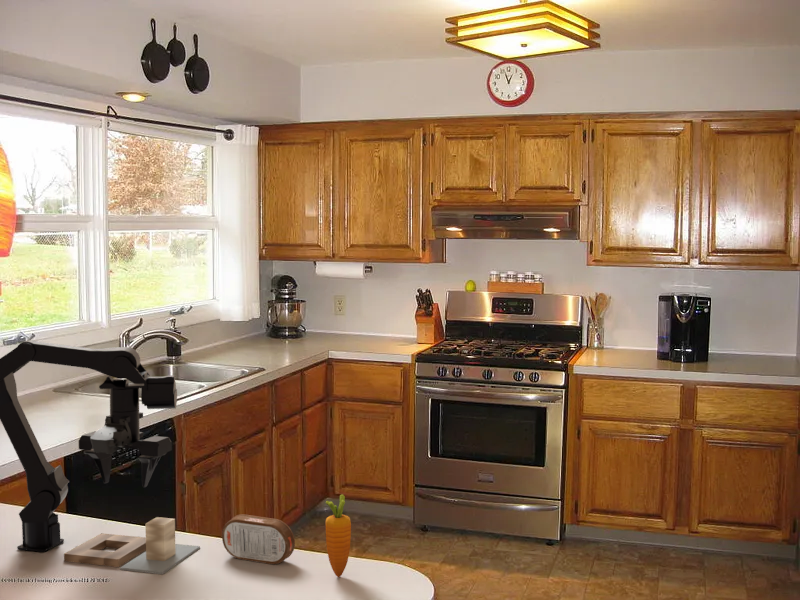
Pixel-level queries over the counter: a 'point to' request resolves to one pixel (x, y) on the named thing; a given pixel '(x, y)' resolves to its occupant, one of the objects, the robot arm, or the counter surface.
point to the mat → (160, 566)
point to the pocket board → (94, 555)
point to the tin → (258, 539)
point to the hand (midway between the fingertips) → (125, 484)
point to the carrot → (338, 537)
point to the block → (160, 539)
